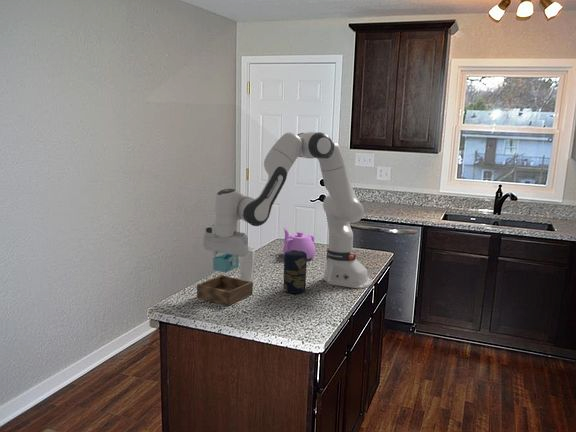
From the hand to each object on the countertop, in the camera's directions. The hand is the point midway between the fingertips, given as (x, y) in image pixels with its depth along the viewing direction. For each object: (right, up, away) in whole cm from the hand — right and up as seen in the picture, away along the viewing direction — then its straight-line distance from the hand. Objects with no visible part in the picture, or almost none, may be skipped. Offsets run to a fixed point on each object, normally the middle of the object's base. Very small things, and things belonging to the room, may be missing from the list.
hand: (225, 263), depth 200 cm
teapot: (+30, -3, +66) cm, 73 cm away
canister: (+28, -13, +12) cm, 33 cm away
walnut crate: (0, -14, +3) cm, 14 cm away
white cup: (+6, -10, +23) cm, 26 cm away
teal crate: (0, -2, +1) cm, 2 cm away
